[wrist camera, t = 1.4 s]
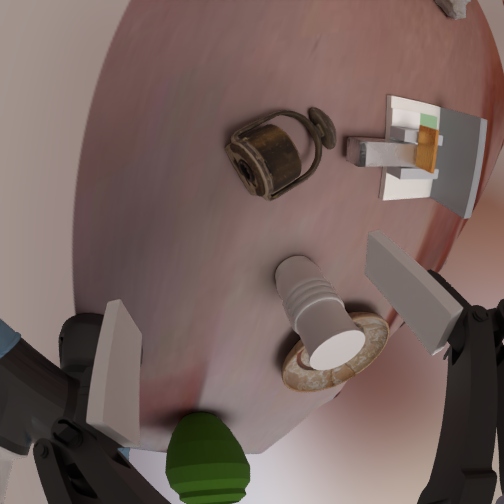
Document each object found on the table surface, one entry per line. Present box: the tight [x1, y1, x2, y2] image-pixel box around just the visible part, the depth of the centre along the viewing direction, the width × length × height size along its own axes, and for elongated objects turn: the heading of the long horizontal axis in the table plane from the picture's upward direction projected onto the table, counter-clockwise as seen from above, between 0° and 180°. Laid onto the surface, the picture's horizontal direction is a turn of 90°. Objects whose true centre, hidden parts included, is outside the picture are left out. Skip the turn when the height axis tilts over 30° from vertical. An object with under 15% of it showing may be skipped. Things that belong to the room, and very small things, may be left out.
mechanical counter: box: [225, 108, 336, 201], centre depth 27 cm, size 7×13×10 cm
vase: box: [165, 412, 250, 504], centre depth 49 cm, size 20×20×24 cm
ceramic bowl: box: [282, 312, 389, 392], centre depth 50 cm, size 23×24×5 cm
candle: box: [275, 256, 365, 370], centre depth 34 cm, size 7×7×15 cm
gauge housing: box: [379, 95, 487, 219], centre depth 29 cm, size 12×15×9 cm
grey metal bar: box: [346, 125, 439, 173], centre depth 27 cm, size 10×6×6 cm, turn 93°
